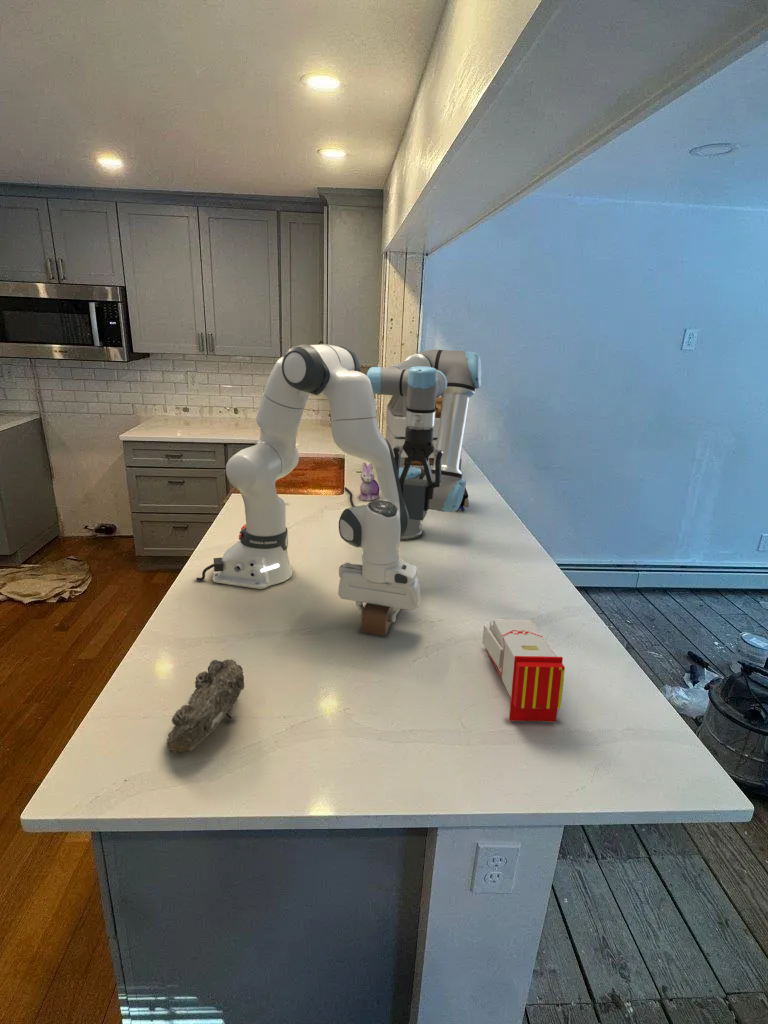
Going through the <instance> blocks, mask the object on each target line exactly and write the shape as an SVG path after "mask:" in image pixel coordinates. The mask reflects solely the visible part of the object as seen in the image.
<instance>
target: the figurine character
mask: <svg viewBox="0 0 768 1024" xmlns="http://www.w3.org/2000/svg"><path fill="white" fill-rule="evenodd" d="M469 505H470V500H469V492H468V490H467V488H466V486H465V491H464V495H463V498H462V501H461V504H460V506H459V508H458V509H461V511H462V512H464V511H465V508H469ZM458 509H457V510H456V511H455V512H457V511H458Z"/></svg>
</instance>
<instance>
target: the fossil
mask: <svg viewBox="0 0 768 1024" xmlns="http://www.w3.org/2000/svg"><path fill="white" fill-rule="evenodd" d="M243 670H244V669H243V667H242V665H240V664H237V662H236V661H235V660H234V659H232V658H231V659H227V658H226V659H224V660H223V661H222V660H217V659H212V660H211V661H210V663H209V665H208V666H207V671H201V672H199V673H198V674H197V675H196V676H195V680H194V684H195V685H194V687H195V689H194V690H193V693H192V694H191V697H190V698H189V700H188V704H184V705H182V706H181V707H180V709H177V710H176V711H175V713H174V715H173V716H172V718H171V723H172V724H173V727H172V730H171V731H170V732H168V734H167V738H166V741H167V742H166V745H167V749H168V750H169V751H173V752H174V753H176V754H178V753H182V752H188V751H189V752H192V751H193V750H195V748H196V747H197V746H199V744H200V743H201V742H203V741H204V740H205V739H206V738H207V737H208V736H209V735H210V734H211V733H212V732H214V730H215V729H217V727H218V726H219V724H220V722H221V721H222V720H223V719H224V718H225V716H226V717H227V719H229V720H233V717H232V715H230V714H229V710H230V709H231V708H234V706H235V704H236V703H237V702H238V699H239V697H240V695H241V693H242V691H243V690H245V689H244V688H245V675H244V671H243Z"/></svg>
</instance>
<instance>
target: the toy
mask: <svg viewBox="0 0 768 1024" xmlns="http://www.w3.org/2000/svg"><path fill="white" fill-rule="evenodd" d="M481 639H482V640H481V643H482V645H483V646H484V648H485V650H486V651H485V652H486V653H487V654H488V656H489V658H490V660H491V661H492V663H493V665H494V667H495V669H496V671H497V672H498V675H499V676H500V678H501V680H502V683H503V684H504V686H505V688H506V691H507V693H508V695H509V697H510V704H509V715H508V720H509V722H557V716H558V710H561V708H562V707H561V706H562V697H563V687H564V678H565V670H566V669H565V668H566V667H565V665H564V664H563V660H564V658H563V656H557V654H556V653H555V652H554V650H553V649H552V647H551V646H550V645H549V642H547V640H546V639H545V637H544V636H543V635H542V633H541V631H540V630H539V629H538V627H537V625H536V624H535V623H534V622H533V621H532V619H505V618H504V619H499V618H498V619H496V618H493V619H492V621H489V626H488V625H486V624H484V625H483V632H482V638H481Z"/></svg>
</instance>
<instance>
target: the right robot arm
mask: <svg viewBox="0 0 768 1024" xmlns="http://www.w3.org/2000/svg"><path fill="white" fill-rule="evenodd" d="M366 376H367V377H368V378H369V379H370V382H371V385H372V389H373V394H374V395H378V396H380V395H382V396H393V395H394V396H404V397H407V411H406V425H407V427H406V430H405V443H404V445H403V446H396V447H395V448H394V449H393V451H394V455H395V458H394V459H395V463H396V468H397V472H398V477H399V482H400V487H401V491H402V496H403V484H404V483H405V481H406V480H407V479H408V478H413V479H422V480H427V483H428V486H427V488H426V494H425V509H424V511H427V512H428V510H432V511H437V512H441V513H444V512H447V513H455V512H457V511H458V510H459V509H460V508H459V506H460V504H461V501H462V498H463V495H464V491H465V487H466V485H467V482H466V479H464V478H463V472H462V470H461V471H460V470H459V462H460V455H461V456H462V453H461V449H462V450H463V443H462V442H464V434H465V428H466V422H467V415H468V408H469V401H470V398H472V396H474V395H475V392H476V390H478V389H480V388H481V384H482V361H481V357H480V354H479V353H477V352H475V351H467V350H449V349H448V350H447V349H427V350H423V351H420V352H416V353H412V354H411V355H409V356H408V357H407V358H405V360H403V361H401V362H397V363H395V364H391V365H390V366H387V367H384V366H383V367H382V366H371V367H370V368H369V369H368V370H367V373H366ZM442 394H443V395H444V397H443V404H442V411H441V418H440V424H439V431H438V438H437V444H436V449H434V446H433V432H434V429H433V428H432V427H433V426H434V418H435V402H436V398H438V397H441V395H442ZM403 450H404V451H405V453H406V454H407V456H408V458H407V460H406V464H405V465H404V467H402V468H399V467H400V459H401V453H402V451H403ZM432 453H434V457H435V458H434V464H433V466H432V465H430V464H429V458H428V457H429V456H430V455H431V454H432ZM412 461H419V462H422V464H423V466H422V467H423V470H424V473H422V469H421V468H419V467H417V466H410V465H411V463H412ZM344 490H345V491H346V492H348V494H349V502H350V505H351V507H355V506H356V505H355V504H354V503H353V501H354V500H353V493H352V492H351V490H349V489H348V488H347V487H346V486H345V487H344ZM456 510H457V511H456ZM422 535H423V523H422V521H420V520H413V519H410V521H409V526H408V528H407V530H406V532H405V534H404V535H403V536H402V537H401V538H400V541H410V540H415V539H418V538H420V537H421V536H422Z"/></svg>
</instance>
